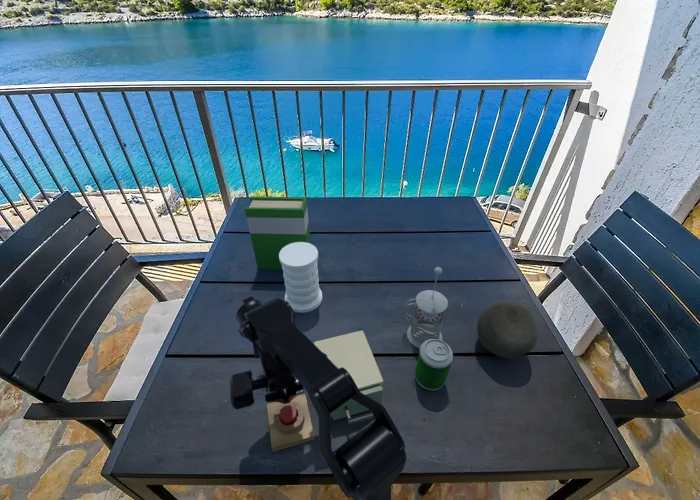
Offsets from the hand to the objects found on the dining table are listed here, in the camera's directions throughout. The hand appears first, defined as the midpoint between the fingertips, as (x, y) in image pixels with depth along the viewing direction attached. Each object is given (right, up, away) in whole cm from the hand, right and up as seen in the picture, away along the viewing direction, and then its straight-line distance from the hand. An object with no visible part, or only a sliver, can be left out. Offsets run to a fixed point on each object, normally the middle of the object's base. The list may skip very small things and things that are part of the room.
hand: (287, 401), depth 72 cm
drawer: (+13, -3, +11) cm, 17 cm away
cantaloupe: (+53, +5, +22) cm, 58 cm away
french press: (+33, +7, +26) cm, 42 cm away
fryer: (+12, -1, +14) cm, 19 cm away
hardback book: (-10, +27, +50) cm, 58 cm away
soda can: (+33, -1, +15) cm, 36 cm away
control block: (0, -8, +6) cm, 10 cm away
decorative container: (-1, +16, +37) cm, 40 cm away
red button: (0, -5, +4) cm, 7 cm away
